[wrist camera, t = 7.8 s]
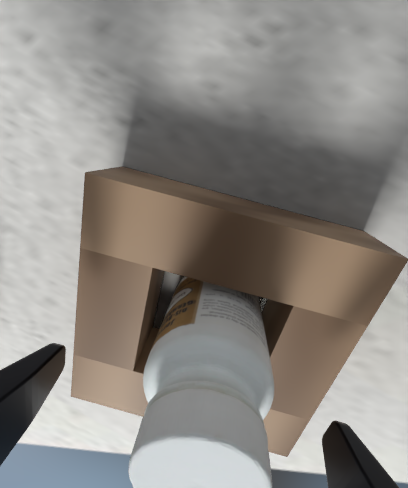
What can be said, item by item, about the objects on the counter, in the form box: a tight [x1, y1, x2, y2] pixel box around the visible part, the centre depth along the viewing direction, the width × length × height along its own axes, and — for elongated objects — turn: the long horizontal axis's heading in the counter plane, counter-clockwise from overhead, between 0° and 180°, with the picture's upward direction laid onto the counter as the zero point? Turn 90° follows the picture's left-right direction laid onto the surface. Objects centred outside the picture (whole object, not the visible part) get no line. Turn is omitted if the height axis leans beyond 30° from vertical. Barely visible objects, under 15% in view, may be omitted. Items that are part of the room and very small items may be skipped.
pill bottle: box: [129, 277, 274, 488], centre depth 9 cm, size 4×4×8 cm
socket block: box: [71, 167, 408, 457], centre depth 11 cm, size 11×11×4 cm
